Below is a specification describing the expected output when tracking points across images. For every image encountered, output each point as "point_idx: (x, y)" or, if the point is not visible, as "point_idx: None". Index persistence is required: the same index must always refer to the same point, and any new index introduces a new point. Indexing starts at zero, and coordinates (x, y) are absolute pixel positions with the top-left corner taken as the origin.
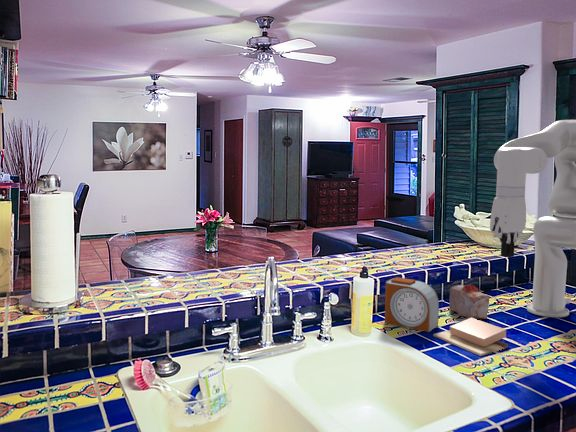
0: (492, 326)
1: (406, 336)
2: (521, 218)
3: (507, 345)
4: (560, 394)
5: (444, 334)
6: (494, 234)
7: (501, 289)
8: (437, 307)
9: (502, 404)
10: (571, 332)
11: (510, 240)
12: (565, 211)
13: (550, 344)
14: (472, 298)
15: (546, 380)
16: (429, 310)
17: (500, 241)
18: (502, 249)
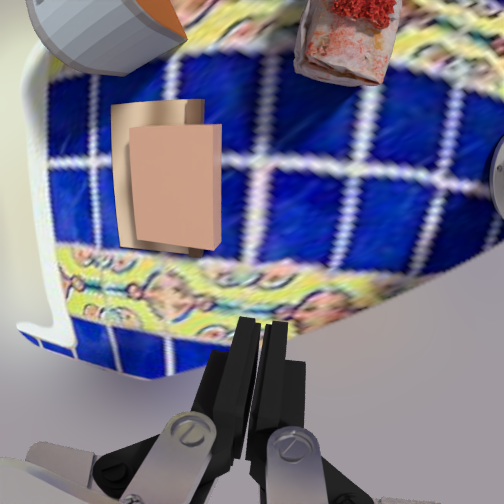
0: (203, 213)
1: (68, 82)
2: None
3: (201, 256)
4: (137, 373)
5: (130, 119)
6: (28, 460)
7: None
8: (153, 35)
9: (63, 339)
10: (424, 283)
11: (212, 485)
12: None
13: (310, 294)
14: (306, 52)
15: (152, 352)
16: (90, 73)
17: (173, 420)
18: (205, 375)
